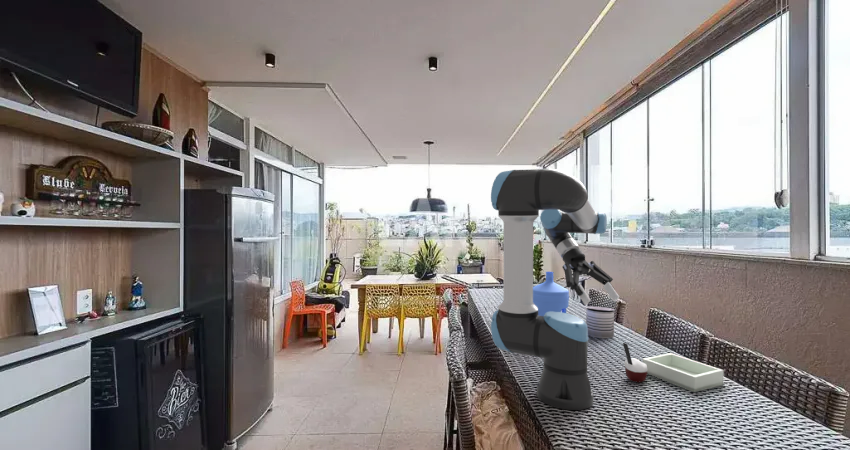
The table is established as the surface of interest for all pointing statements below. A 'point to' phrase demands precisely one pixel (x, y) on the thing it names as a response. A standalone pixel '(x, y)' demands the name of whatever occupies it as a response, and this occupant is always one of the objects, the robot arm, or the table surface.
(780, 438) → the table surface
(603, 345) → the table surface
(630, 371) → the cocoa
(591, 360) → the table surface
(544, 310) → the water jug
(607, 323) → the can
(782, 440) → the table surface
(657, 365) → the bin
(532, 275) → the robot arm
